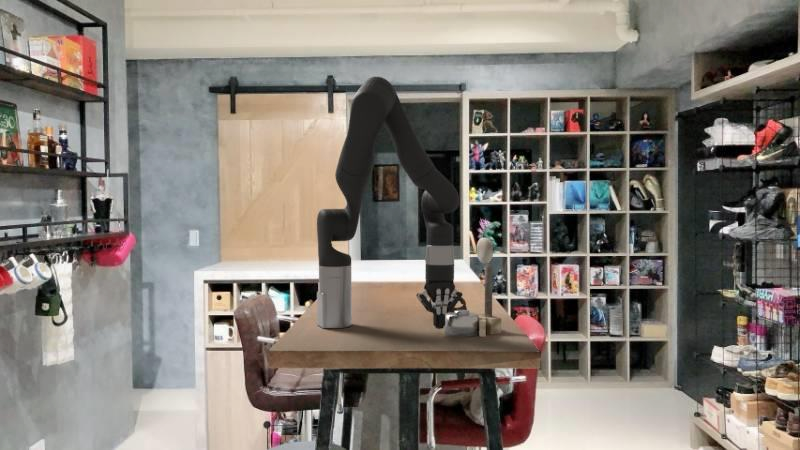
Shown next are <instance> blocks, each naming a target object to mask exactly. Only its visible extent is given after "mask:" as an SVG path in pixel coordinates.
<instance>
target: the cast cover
mask: <svg viewBox="0 0 800 450" xmlns="http://www.w3.org/2000/svg"><path fill="white" fill-rule="evenodd" d="M478 314H479V313H477V312H470V310H468V309H467V310H455V311H454V312H450V313H446V314H445V326H444V335H447V336H451V337H458V338H466V337H467V338H468V337H475V336H478V335H479V315H478Z"/></svg>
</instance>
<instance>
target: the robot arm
mask: <svg viewBox="0 0 800 450" xmlns="http://www.w3.org/2000/svg"><path fill="white" fill-rule="evenodd" d="M348 120H349V121H348V130H347V134H346V137H345V140H344V142H343V144H342V148H341V152H340V155H339V157H338V162H337V165H336V169H335V181H336V184H337V186H338V188H339V190H340V191H341V193H342V195H343V197H344V199H345V201H346V205H345V207H344V208H323V209H320V210H319V211H318V213H317V217H316V233H317V235H316V236H317V250H318V251H317V255H318V291H316V323H317V324H316V325H317V326H319V327H320V328H322V329H342V328H349V327H350V326H351V327H352V325H353V323H352V321H353V319H352V318H353V317H352V315H353V314H352V311H353V310H352V309H353V308H352V307H353V306H352V256H351V255H350V254H348V253H345V252H342V251H339V250H338V249H336V248H335V247H334V246H333V243H332V242H346V241H351V240H353V239H354V237H355V235H356V233H357V231H358V230H357V229H358V226H359V221H360V217H361V216H360V215H361V211H362V204H363V202H364V199H365V196H366V195H365V194H366V190H367V188H368V185H369V182H370V179H371V177H372V173H373V170H374V166H375V162H376V160H375V158H376V156H375V153H376V152H375V146H376V145H375V144H376V141H377V139H378V135H379V133H380V130H381V128H382V126H383V124H385V127H386V128H387V131H388V132H389V134H390V137H391V139H392V143H393V146H394V149H395V153H396V156H397V158H398V161H399V163H400V165H401V167H402V169H403V170H404V171H405V173H406V175H407V176H408V177H409V180H411V182H412V184H413V185H415V186H416V188H417V187H418V188H420V189H421V190H422V189H423V190H424V191H423V193H422V195H421V199H420V202H421V204H420V205H421V211H422V215H423V220H424V224H425V228H426V249H425V260H424V261H425V277H424V278H425V284H424V287H423V290H422V291H421V292H417V293H416V298H417V299H418V301H419V302H420V303H421V305H422V306H423V307H424V309H425V310H426V311H427V312H430V313H432V315H433V316H432V317H433V318H432V319H433V321H432V322H433V326H434V327H435V328H436V330H438V329H439V330H441V329H445V314H446V313H447V312H449V311H450V312H451V311H452V310H453V308H456V306H457V304H458V303H459V302H460V301H459V300H460V298H461V297H462V298H463V293H462V292H461V291H459V290H457V288H456V286H455V285H456V284H455V282H454V280H455V249H454V226H453V225H452V224H451V223H449V222H448V221H446V218H445V214H450V213H454V212H455V211H456V210H457V209H458V207H459V205H460V196H459V193H458V190H457V189H456V187H455V186H454V185H453V184H452V182H451V181H450V180H449V179H448V178H447V177H445V176H444V174H442V172H440V171H439V169H437V167H436V166H435V164H434V163H433V160H432V159H431V158H430V156H429V155H428V154H427V151H426V150H425V148H424V147H423V145H422V143H421V142H420V141H419V139H418V137H417V135H416V133H415V131H414V129H413V127H412V124H411V123H410V120H409V118H408V116H407V114H406V112H405V110H404V107H403V105H402V102H401V100H400V98H399V95H398V93H397V92H396V90H395V88H394V86H393V85H392V83H391V82H390V81H389V80H388V79H386V78H384V77H381V76H371V77H369V78H368V79H366V81H364V82H363V84H361V86H360V87H359V89H357V92H356V93H355V94H354V95H353V99H352V101H351V106H350V114H349V119H348ZM450 296H452V297H451V298H450ZM428 297H429V300H430V299H431V304H432V305H431V304H430V303H429V300H428ZM449 298H450V300H449V301H448V299H449Z"/></svg>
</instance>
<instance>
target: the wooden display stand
mask: <svg viewBox="0 0 800 450" xmlns="http://www.w3.org/2000/svg"><path fill="white" fill-rule="evenodd" d="M476 255H477V260H479V262H480V263H481V264H484V313H477V314H478V315H479V334H478V335H479V337H486V336H487V335H486V333H487V334H490V335H495V334H496V335H498V334H499V335H500V334H502V317H498V316H495V315H493V258H494V257H493V256H494V247H493V243H492V240H491V239H490V238H488V237H481V238H479V240H478V241H477V244H476Z"/></svg>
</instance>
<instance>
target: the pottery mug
mask: <svg viewBox="0 0 800 450" xmlns="http://www.w3.org/2000/svg"><path fill="white" fill-rule="evenodd" d="M451 297H452V296H450V298H451ZM450 298H449V299H448V301H449V300H450ZM428 301H429V303H430V304H431V299H430V298H429V300H428ZM458 302H459V303H460V304H461V306H459V307H454V308H453V310H452V311H451V312H454V311H455V310H468V307H467V302H466V300H465V299H464V298H463V296H462V297H461V298H460V300H459V301H458ZM431 305H432V304H431ZM447 313H450V311H449V312H447Z"/></svg>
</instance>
